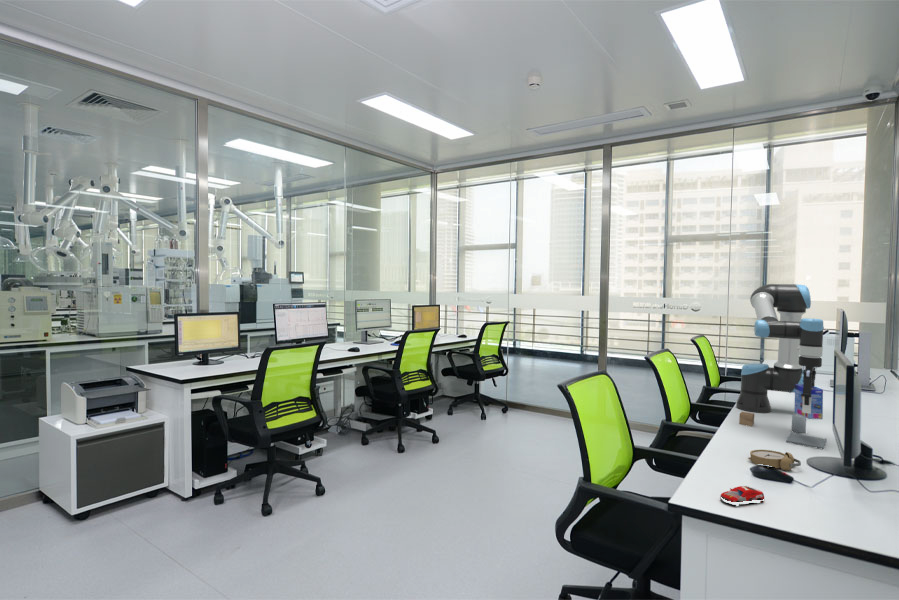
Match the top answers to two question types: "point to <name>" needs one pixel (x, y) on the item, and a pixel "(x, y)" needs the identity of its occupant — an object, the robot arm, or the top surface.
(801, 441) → the charcoal mat
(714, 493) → the top surface
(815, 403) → the ink cartridge box
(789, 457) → the alarm clock
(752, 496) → the race car
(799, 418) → the slate cylinder
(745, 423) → the walnut cube
